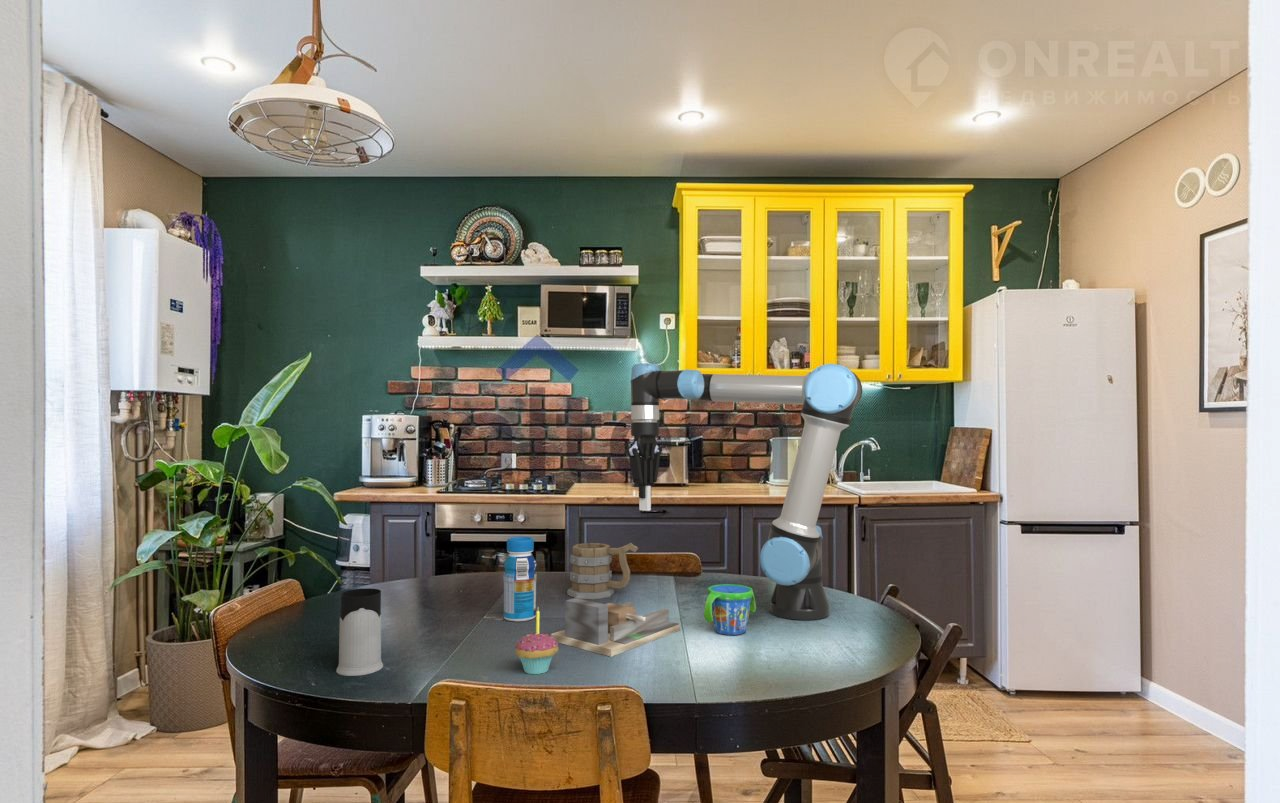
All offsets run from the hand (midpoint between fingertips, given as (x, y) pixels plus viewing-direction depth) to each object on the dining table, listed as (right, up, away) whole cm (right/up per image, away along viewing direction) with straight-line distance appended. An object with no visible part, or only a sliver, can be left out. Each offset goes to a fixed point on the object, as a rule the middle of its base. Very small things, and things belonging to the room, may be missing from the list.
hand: (645, 510), depth 188 cm
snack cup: (+20, -26, -21) cm, 39 cm away
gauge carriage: (-5, -23, -26) cm, 36 cm away
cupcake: (-22, -25, -48) cm, 58 cm away
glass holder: (-59, -25, -44) cm, 77 cm away
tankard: (-12, -27, +16) cm, 34 cm away
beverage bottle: (-32, -26, -9) cm, 42 cm away
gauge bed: (-7, -25, -24) cm, 36 cm away
